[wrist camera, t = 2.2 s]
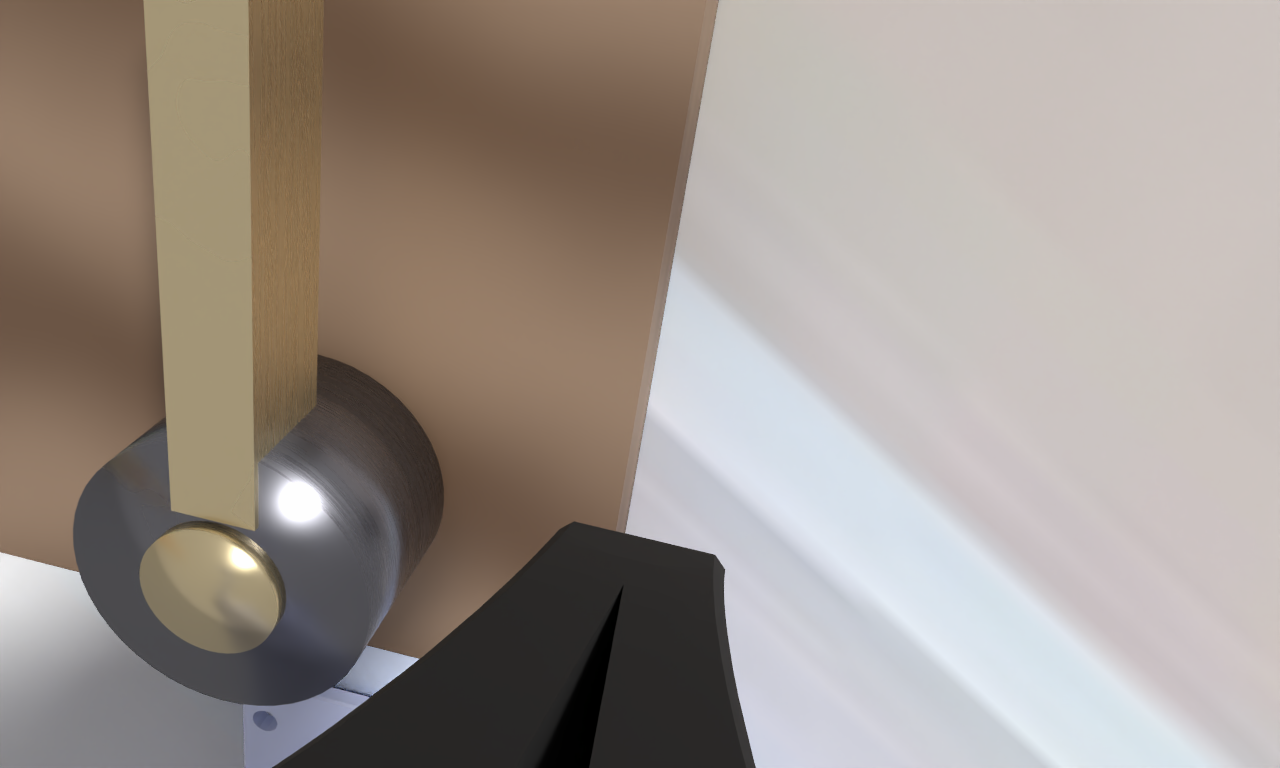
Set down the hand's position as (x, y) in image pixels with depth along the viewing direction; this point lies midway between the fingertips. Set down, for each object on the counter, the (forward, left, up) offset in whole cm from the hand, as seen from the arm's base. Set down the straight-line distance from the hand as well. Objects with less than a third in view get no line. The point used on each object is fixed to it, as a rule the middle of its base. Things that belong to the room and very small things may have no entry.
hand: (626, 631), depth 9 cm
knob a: (-1, +6, -7) cm, 9 cm away
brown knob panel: (+3, +10, -9) cm, 13 cm away
